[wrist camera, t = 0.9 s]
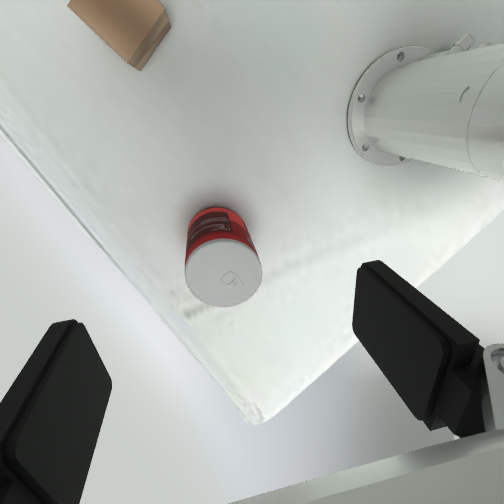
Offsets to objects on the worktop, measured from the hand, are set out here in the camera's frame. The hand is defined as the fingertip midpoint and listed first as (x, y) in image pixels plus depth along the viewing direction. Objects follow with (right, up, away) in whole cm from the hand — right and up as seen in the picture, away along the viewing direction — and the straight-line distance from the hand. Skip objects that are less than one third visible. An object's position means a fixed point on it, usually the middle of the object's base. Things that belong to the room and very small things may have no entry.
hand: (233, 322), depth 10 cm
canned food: (-4, +5, +28) cm, 29 cm away
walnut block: (-11, +24, +17) cm, 31 cm away
